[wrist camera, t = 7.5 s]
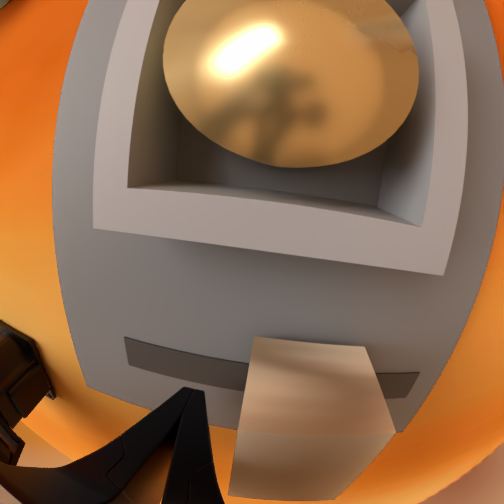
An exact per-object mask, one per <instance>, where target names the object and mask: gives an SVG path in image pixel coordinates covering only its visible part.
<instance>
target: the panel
mask: <svg viewBox="0 0 504 504" xmlns="http://www.w3.org/2000/svg"><path fill="white" fill-rule="evenodd" d="M185 1H186V0H89V2H88V4H87V7H86V9H85V12H84V14H83V17H82V20H81V23H80V25H79V28H78V31H77V34H76V37H75V40H74V44H73V47H72V50H71V54H70V57H69V61H68V65H67V69H66V73H65V78H64V82H63V87H62V92H61V97H60V103H59V109H58V116H57V123H56V131H55V141H54V154H53V173H52V209H53V229H54V241H55V251H56V260H57V268H58V275H59V281H60V287H61V293H62V298H63V303H64V308H65V312H66V317H67V321H68V325H69V329H70V333H71V337H72V341H73V344H74V348H75V351H76V355H77V358H78V361H79V364H80V367H81V370H82V373H83V376H84V379H85V382H86V385H87V386H88V387H90V388H92V389H95V390H97V391H99V392H102V393H104V394H107V395H109V396H112V397H115V398H117V399H120V400H123V401H125V402H128V403H131V404H134V405H137V406H140V407H143V408H146V409H149V410H155V409H156V408H157V407H158V406H160V405H161V404H162V403H164V402H165V401H166V400H167V399H169V398H170V397H171V396H172V395H174V394H175V393H176V392H177V391H179V390H180V389H181V388H182V387H189V388H193V389H198V390H203V391H204V392H205V398H206V408H207V416H208V425H213V426H218V427H224V428H230V429H236V430H238V426H239V420H240V415H241V409H242V404H243V398H244V392H245V387H246V381H247V375H248V369H249V363H250V357H251V352H252V346H253V340H254V336H258V337H265V338H273V339H281V340H290V341H299V342H309V343H319V344H331V345H345V346H362V347H365V349H366V351H367V354H368V356H369V359H370V361H371V364H372V366H373V369H374V372H375V374H376V377H377V379H378V382H379V385H380V388H381V390H382V393H383V396H384V399H385V401H386V404H387V407H388V410H389V413H390V416H391V419H392V422H393V425H394V428H395V431H396V433H399V432H403V430H404V429H405V428H406V426H407V425H408V424H409V422H410V421H411V420H412V418H413V417H414V415H415V414H416V413H417V411H418V410H419V408H420V407H421V405H422V404H423V402H424V401H425V399H426V398H427V396H428V394H429V393H430V391H431V390H432V388H433V386H434V385H435V383H436V381H437V380H438V378H439V376H440V375H441V373H442V371H443V369H444V367H445V366H446V364H447V362H448V360H449V358H450V356H451V354H452V352H453V350H454V348H455V346H456V344H457V342H458V340H459V338H460V336H461V334H462V331H463V329H464V327H465V325H466V322H467V320H468V318H469V315H470V313H471V310H472V308H473V305H474V303H475V300H476V297H477V295H478V292H479V289H480V286H481V283H482V280H483V277H484V274H485V270H486V267H487V264H488V260H489V257H490V253H491V249H492V245H493V241H494V237H495V232H496V227H497V222H498V217H499V212H500V206H501V199H502V192H503V183H504V86H503V78H502V71H501V65H500V59H499V54H498V49H497V44H496V40H495V36H494V32H493V28H492V24H491V21H490V18H489V14H488V11H487V8H486V5H485V2H484V0H385V1H386V2H387V3H388V4H389V5H390V6H391V7H392V8H393V10H394V11H395V12H396V13H397V15H398V16H399V17H400V19H401V20H402V22H403V23H404V25H405V27H406V28H407V30H408V32H409V34H410V37H411V39H412V41H413V44H414V47H415V51H416V54H417V59H418V68H419V81H418V89H417V93H416V98H415V101H414V103H413V106H412V108H411V111H410V112H409V114H408V116H407V117H406V119H405V121H404V122H403V124H402V125H401V126H400V127H399V128H398V130H397V131H396V132H395V133H394V134H393V135H392V136H391V137H390V138H388V139H387V140H386V141H385V142H384V143H382V144H381V145H379V146H378V147H376V148H374V149H373V150H371V151H370V152H368V153H365V154H363V155H361V156H359V157H356V158H354V159H351V160H348V161H344V162H341V163H337V164H331V165H325V166H319V167H306V168H281V167H275V166H270V165H266V164H263V163H260V162H257V161H254V160H251V159H248V158H246V157H243V156H241V155H238V154H236V153H234V152H232V151H229V150H227V149H225V148H223V147H222V146H220V145H218V144H217V143H215V142H213V141H211V140H210V139H209V138H208V137H206V136H205V135H204V134H202V133H201V132H200V131H198V130H197V129H196V128H195V127H194V126H193V125H192V124H191V123H190V122H189V121H188V120H187V119H186V117H185V116H184V115H183V113H182V112H181V111H180V109H179V108H178V107H177V105H176V103H175V101H174V100H173V98H172V96H171V94H170V92H169V89H168V86H167V83H166V80H165V75H164V69H163V49H164V42H165V38H166V35H167V32H168V29H169V26H170V24H171V22H172V20H173V18H174V16H175V14H176V13H177V12H178V10H179V9H180V7H181V6H182V4H183V3H184V2H185Z"/></svg>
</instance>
